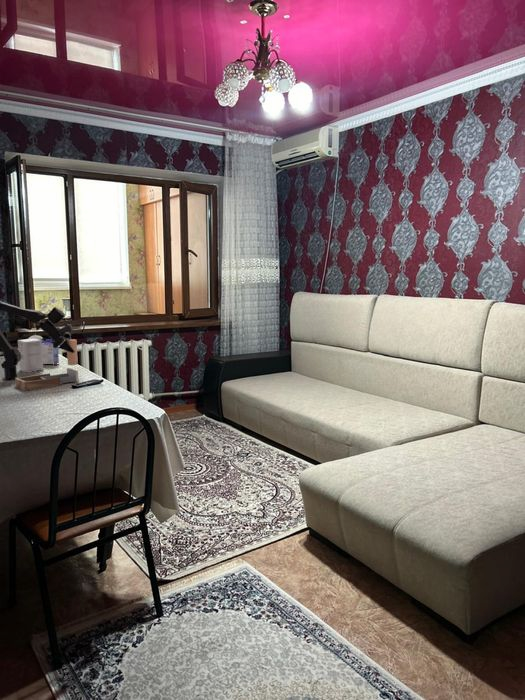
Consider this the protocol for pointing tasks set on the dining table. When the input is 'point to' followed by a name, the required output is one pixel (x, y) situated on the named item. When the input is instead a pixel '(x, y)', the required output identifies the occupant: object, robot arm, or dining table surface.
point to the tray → (65, 376)
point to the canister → (72, 356)
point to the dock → (36, 382)
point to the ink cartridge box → (49, 353)
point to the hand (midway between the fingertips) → (74, 351)
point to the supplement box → (30, 355)
